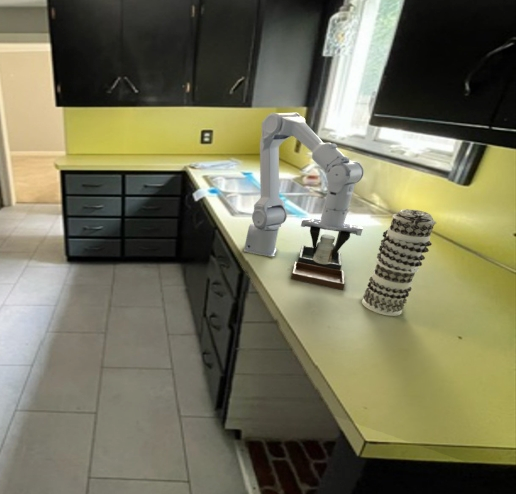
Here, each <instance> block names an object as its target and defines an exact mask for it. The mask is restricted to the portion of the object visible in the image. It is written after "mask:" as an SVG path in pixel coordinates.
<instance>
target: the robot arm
mask: <svg viewBox="0 0 516 494" xmlns="http://www.w3.org/2000/svg"><path fill="white" fill-rule="evenodd" d="M291 137H294V138H295V139H296V140H297V141H299V142H300V143H301V144H302V145H303V146H304V147H306V148H307V149H308V150H309V151H310V152H311V159H312V161H313V162H315V164H316V165H318V167H319V168H320V169H322V171H323V172H324V173H325V174H326V181H327V183H328V185H327V193H326V197H325V201H324V204H323V208H322V211H321V216H320V219H316V218H304V217H303V218H302V219H301V224H300V227H301V228H307V227H308V228H309V229H310V230H309V234H310V237H311V242H312V244H311V245H312V247H313V250H312V253H314V254H315V251H316V246H317V243H318V242H319V237H320V235H321V234H320V233H321V230H327V231H333V232H338V233H337V237H336V240H335V241H336V242H335V244H334V246H335V247H334V251H333V254H332V257H335V256H336V254H337V252H339V251H340V249H342V247H343V245H344V244H345V243H346V242H347V241H349V239H350V238H351V234H352V235H356V236H362V232H363V230H364V228H363V226H359V225H354V224H350V223H347V222H346V219H347V215H348V212H349V209H350V204H351V201H352V197H353V195H354V190H355V186H356V184H357V183H359V182H360V181H361V180H362V179H363V177H364V168H363V166H362V164H361V163H360V162H359V161H356V160H355V161H354V160H350V157H349V156H348V155H344V153H342V152H341V151H340V150H339V149H338V147H339V146H338V145H337V144H336V143H331V142H323V141H322V139H321V138H320V137H319V136H318V135H317V134H316V133H315V132H314V131H313V129H312V128H311V127H310V126H309V125H308V124H307V123H306V119H305V118H304V117H303V116H301V114H300V113H298V112H295V111H293V112H271V113H269V114H268V115H267V116H265V118H264V119H263V121H262V122H261V136H260V139H259V176H260V179H259V180H260V186H259V187H260V198H259V199H258V200H257V201H256V202H255V203H254V205H253V211H252V215H251V221H252V223H250V224H249V226H248V229H247V234H246V237H245V242H244V243H245V244H244V249H243V252H244V253H249V254H255V255H260V256H265V257H270V258H274V257H275V255H276V252H277V250H278V249H277V247H276V245H277V240H278V235H279V231H280V228H281V227H282V225H283V224H284V223H285V222H286V220H287V218H288V212H287V209H286V205H285V201H284V200H283V199H282V198H281V197H280V146H281V145H282V144H283V143H284V142H285V141H286V140H288V139H289V138H291Z"/></svg>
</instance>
